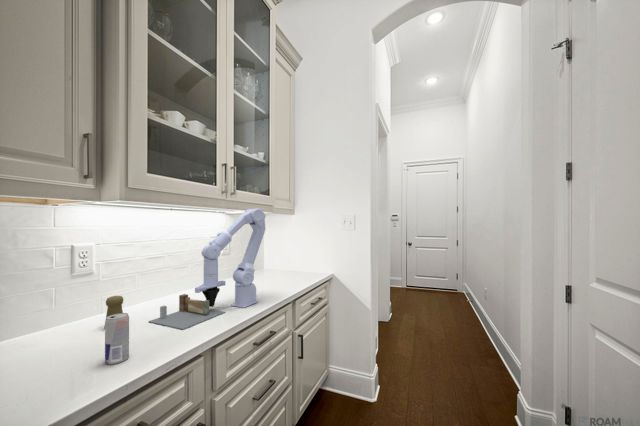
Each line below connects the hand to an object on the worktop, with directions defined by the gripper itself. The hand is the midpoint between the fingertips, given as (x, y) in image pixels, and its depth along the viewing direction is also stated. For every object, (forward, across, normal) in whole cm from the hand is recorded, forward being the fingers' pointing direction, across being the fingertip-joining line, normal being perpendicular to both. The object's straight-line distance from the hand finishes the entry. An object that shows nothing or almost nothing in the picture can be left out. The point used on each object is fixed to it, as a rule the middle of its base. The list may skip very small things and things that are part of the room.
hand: (211, 306), depth 117 cm
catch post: (+2, +14, -10) cm, 18 cm away
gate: (+1, +5, -3) cm, 6 cm away
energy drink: (+2, +41, +9) cm, 42 cm away
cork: (+2, +27, -19) cm, 33 cm away
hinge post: (+2, +5, -10) cm, 12 cm away
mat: (+2, +9, -2) cm, 10 cm away
